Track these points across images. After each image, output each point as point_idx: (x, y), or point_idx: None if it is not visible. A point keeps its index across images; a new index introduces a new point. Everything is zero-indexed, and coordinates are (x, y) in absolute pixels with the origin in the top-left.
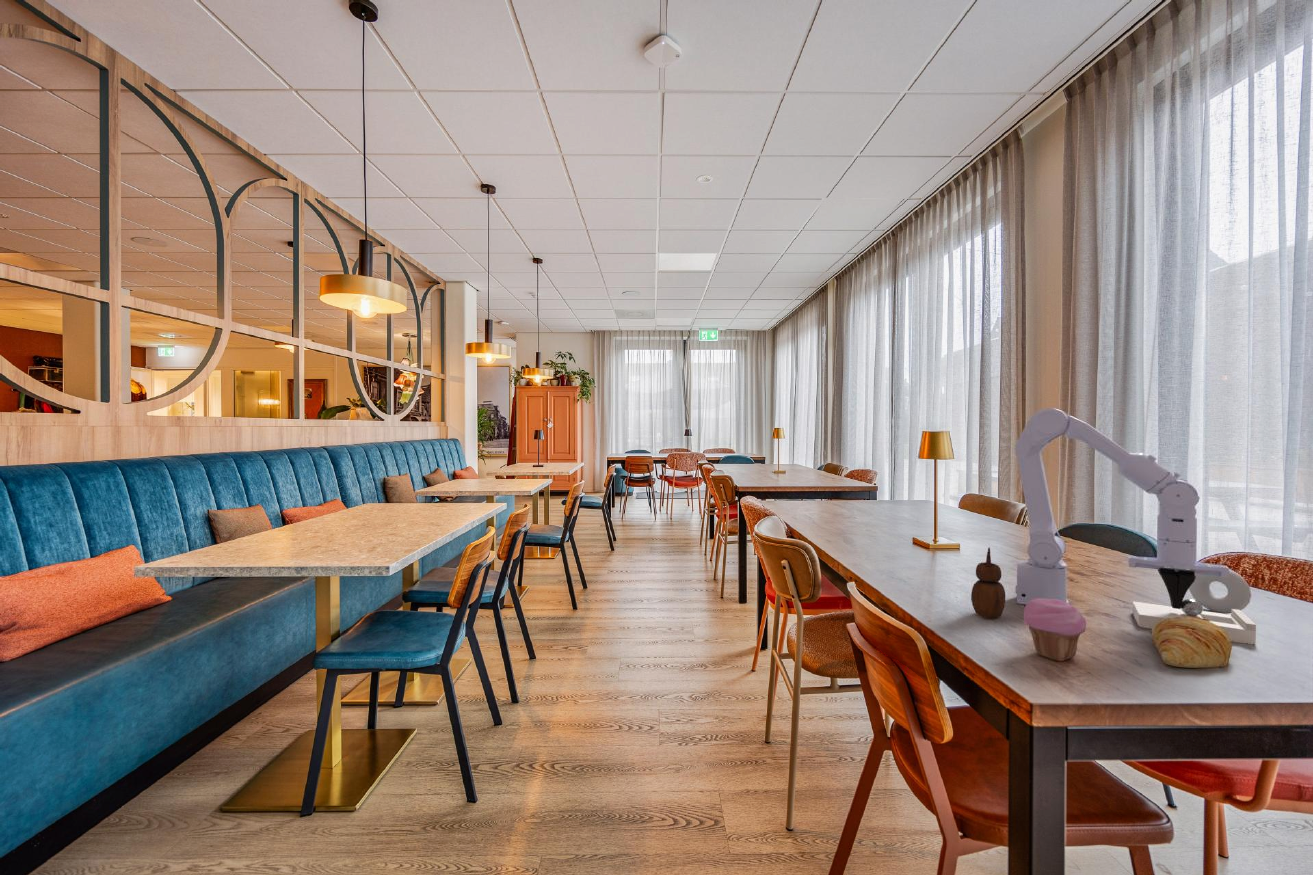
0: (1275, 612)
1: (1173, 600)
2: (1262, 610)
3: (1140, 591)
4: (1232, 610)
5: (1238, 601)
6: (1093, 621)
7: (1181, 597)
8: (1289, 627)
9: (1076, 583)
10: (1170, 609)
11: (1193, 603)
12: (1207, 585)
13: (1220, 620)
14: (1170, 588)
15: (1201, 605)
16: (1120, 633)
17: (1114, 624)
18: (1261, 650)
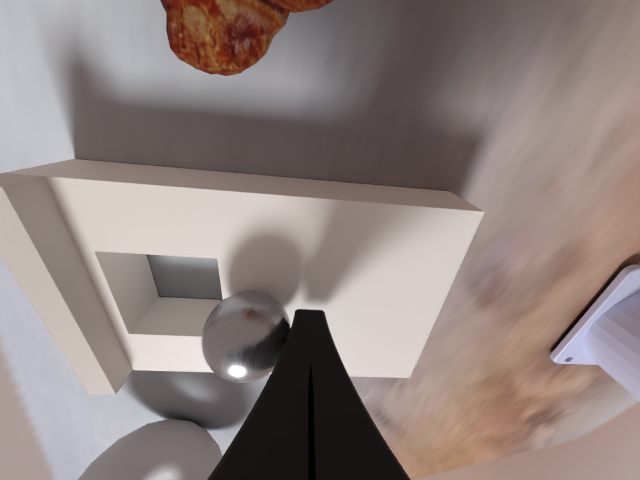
0: (90, 458)
1: (327, 339)
2: None
3: None
4: (111, 380)
5: (112, 462)
6: (609, 177)
7: (289, 360)
8: (43, 388)
9: (425, 473)
10: None
11: (234, 338)
12: None
13: (169, 322)
14: (358, 420)
15: (202, 342)
16: (615, 6)
17: (538, 176)
18: (39, 72)
